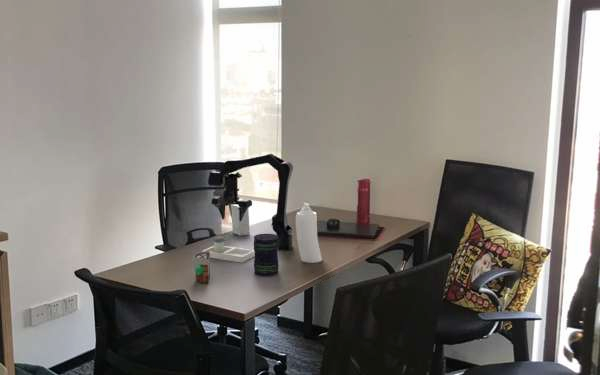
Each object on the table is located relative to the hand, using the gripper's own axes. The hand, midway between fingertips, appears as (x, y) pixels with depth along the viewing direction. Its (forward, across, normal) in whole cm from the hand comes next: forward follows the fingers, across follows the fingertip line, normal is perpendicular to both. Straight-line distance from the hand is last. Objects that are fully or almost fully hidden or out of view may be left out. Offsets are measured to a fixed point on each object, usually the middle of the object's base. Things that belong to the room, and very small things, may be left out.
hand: (231, 220), depth 284 cm
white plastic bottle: (+12, +42, -6) cm, 44 cm away
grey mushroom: (+11, +3, -16) cm, 19 cm away
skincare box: (+12, -8, +21) cm, 25 cm away
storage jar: (+12, +34, -29) cm, 46 cm away
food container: (+12, +15, -48) cm, 52 cm away
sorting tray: (+12, +8, -16) cm, 21 cm away
